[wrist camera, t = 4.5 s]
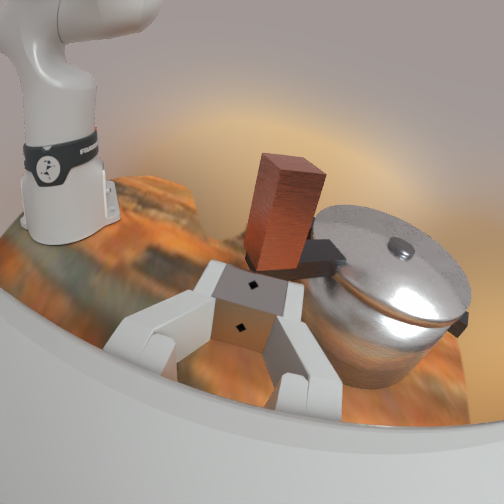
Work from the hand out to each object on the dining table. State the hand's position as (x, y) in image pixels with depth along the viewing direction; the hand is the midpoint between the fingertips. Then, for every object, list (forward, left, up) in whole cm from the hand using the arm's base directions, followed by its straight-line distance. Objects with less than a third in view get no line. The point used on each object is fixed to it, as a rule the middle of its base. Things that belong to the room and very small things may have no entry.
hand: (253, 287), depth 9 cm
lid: (-8, +16, -7) cm, 19 cm away
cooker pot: (-11, +18, -17) cm, 27 cm away
